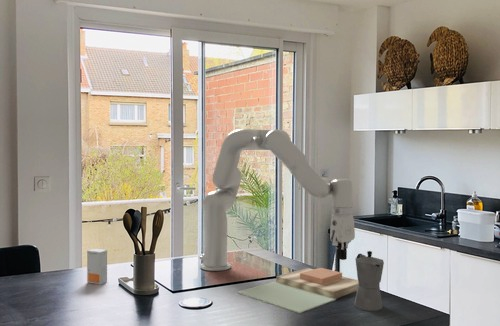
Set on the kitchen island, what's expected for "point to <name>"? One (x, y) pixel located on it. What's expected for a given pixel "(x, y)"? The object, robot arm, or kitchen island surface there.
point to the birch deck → (327, 289)
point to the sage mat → (287, 296)
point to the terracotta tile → (321, 275)
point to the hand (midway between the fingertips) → (341, 259)
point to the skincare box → (97, 266)
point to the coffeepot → (368, 282)
